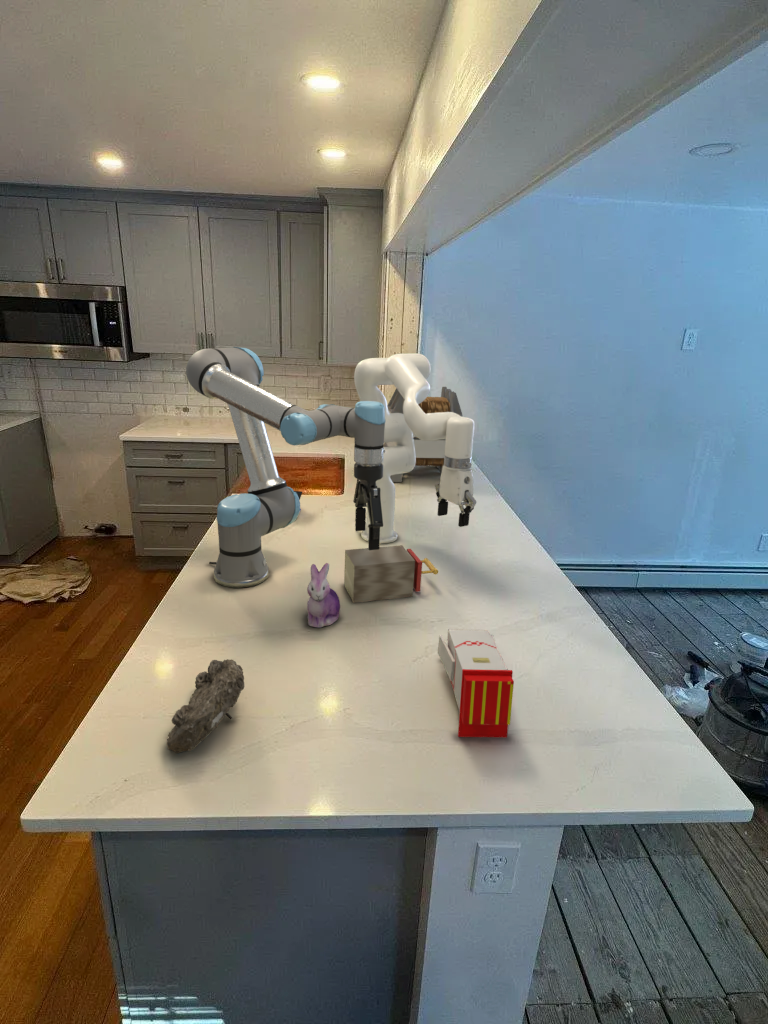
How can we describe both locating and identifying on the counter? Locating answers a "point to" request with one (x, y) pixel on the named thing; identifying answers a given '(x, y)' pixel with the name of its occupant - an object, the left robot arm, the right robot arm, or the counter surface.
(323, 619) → the figurine
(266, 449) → the left robot arm
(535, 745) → the counter surface
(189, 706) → the fossil
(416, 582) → the drawer
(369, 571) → the cabinet
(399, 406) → the transformer
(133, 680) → the counter surface
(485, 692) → the toy
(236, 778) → the counter surface
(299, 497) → the figurine character
